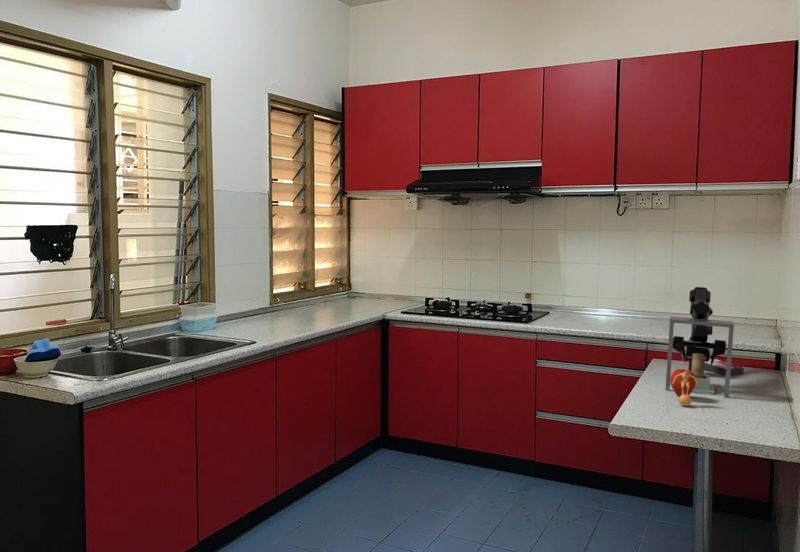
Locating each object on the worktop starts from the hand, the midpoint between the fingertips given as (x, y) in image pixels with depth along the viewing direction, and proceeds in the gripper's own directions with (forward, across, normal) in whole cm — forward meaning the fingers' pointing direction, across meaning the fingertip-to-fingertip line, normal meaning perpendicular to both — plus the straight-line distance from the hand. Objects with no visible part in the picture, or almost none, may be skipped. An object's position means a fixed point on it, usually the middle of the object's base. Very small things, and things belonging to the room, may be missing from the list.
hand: (698, 362), depth 244 cm
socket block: (+7, 0, +8) cm, 10 cm away
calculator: (-21, +10, +37) cm, 43 cm away
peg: (+6, 0, +7) cm, 9 cm away
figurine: (+26, -4, -12) cm, 29 cm away
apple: (+19, -5, -4) cm, 20 cm away
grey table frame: (+10, 0, +5) cm, 11 cm away
